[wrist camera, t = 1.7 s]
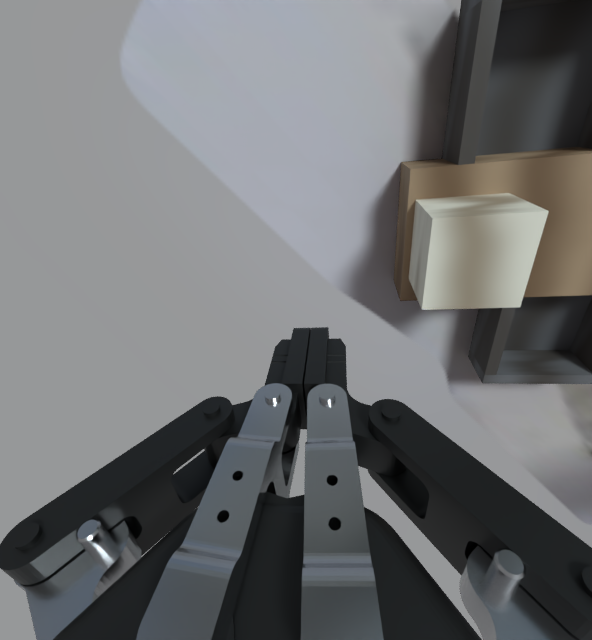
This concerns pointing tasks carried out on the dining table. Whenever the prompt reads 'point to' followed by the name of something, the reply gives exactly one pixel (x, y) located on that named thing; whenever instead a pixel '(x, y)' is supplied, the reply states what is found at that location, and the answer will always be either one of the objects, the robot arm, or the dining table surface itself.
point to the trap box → (521, 176)
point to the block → (474, 250)
